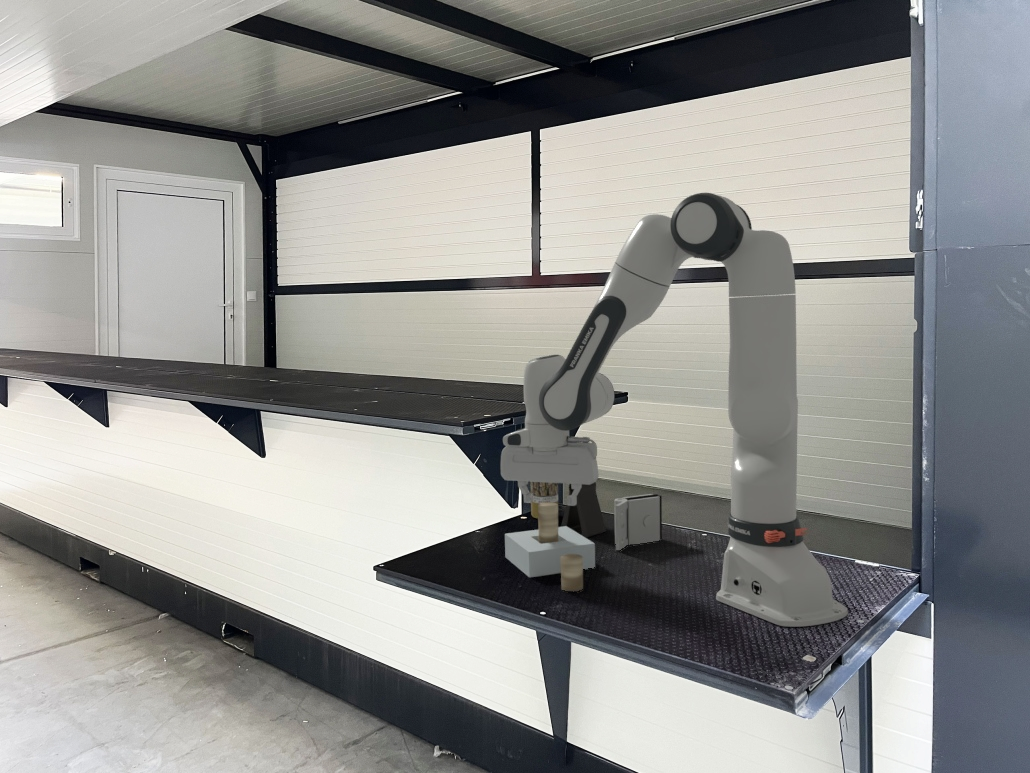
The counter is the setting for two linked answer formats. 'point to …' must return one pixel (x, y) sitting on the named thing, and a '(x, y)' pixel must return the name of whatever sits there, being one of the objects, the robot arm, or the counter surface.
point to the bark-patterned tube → (543, 495)
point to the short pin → (571, 572)
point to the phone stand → (585, 512)
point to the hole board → (547, 551)
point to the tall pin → (548, 522)
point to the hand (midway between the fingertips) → (550, 503)
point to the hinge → (637, 519)
